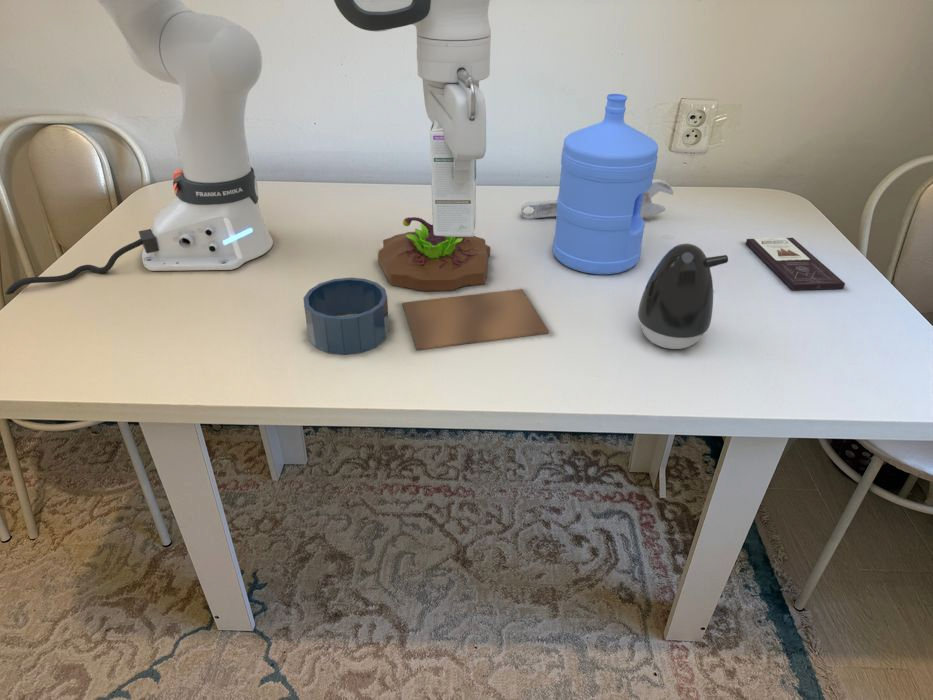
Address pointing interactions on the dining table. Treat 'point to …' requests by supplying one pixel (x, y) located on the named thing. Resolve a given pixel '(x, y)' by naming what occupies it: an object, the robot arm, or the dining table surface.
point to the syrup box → (450, 191)
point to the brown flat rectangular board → (472, 319)
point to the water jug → (603, 193)
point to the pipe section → (347, 330)
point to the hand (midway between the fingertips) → (453, 171)
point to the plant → (433, 259)
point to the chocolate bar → (794, 264)
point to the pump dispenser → (679, 298)
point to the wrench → (646, 209)
